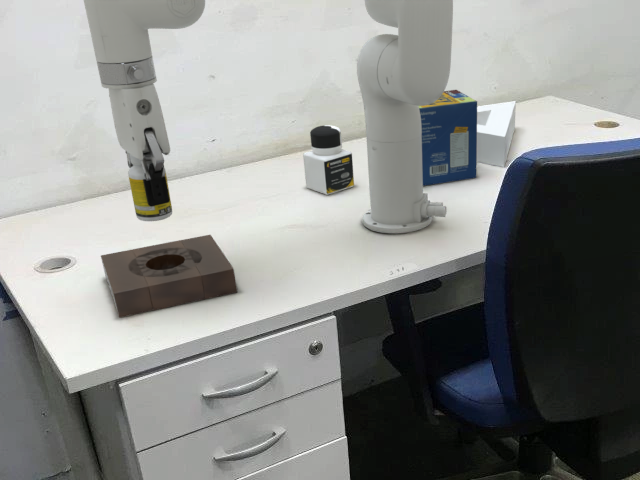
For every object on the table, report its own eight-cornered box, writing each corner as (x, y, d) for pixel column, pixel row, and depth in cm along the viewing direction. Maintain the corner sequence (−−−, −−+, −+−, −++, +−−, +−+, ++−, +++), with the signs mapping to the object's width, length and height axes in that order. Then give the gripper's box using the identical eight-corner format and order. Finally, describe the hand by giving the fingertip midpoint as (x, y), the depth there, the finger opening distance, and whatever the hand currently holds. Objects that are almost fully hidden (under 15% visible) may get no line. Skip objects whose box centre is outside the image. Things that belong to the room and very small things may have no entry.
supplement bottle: (164, 223, 125) (151, 157, 120) (130, 222, 126) (117, 157, 121) (179, 210, 129) (167, 146, 124) (146, 209, 130) (133, 146, 125)
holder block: (214, 256, 143) (210, 234, 141) (237, 292, 130) (233, 268, 128) (106, 278, 137) (100, 255, 135) (119, 317, 125) (113, 293, 122)
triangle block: (396, 145, 194) (395, 117, 190) (464, 119, 210) (464, 93, 206) (504, 167, 176) (505, 136, 173) (569, 137, 192) (571, 109, 189)
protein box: (389, 174, 176) (386, 98, 168) (458, 164, 179) (458, 88, 171) (406, 189, 167) (403, 109, 159) (477, 178, 171) (478, 99, 163)
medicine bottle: (327, 195, 166) (321, 134, 160) (305, 187, 171) (299, 128, 165) (354, 186, 170) (350, 126, 164) (333, 179, 175) (328, 120, 169)
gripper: (175, 77, 112) (197, 208, 122) (133, 60, 125) (156, 179, 134) (120, 86, 109) (146, 220, 118) (83, 67, 121) (110, 189, 131)
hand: (151, 197), depth 126 cm, fingers closed on supplement bottle, 5 cm apart
